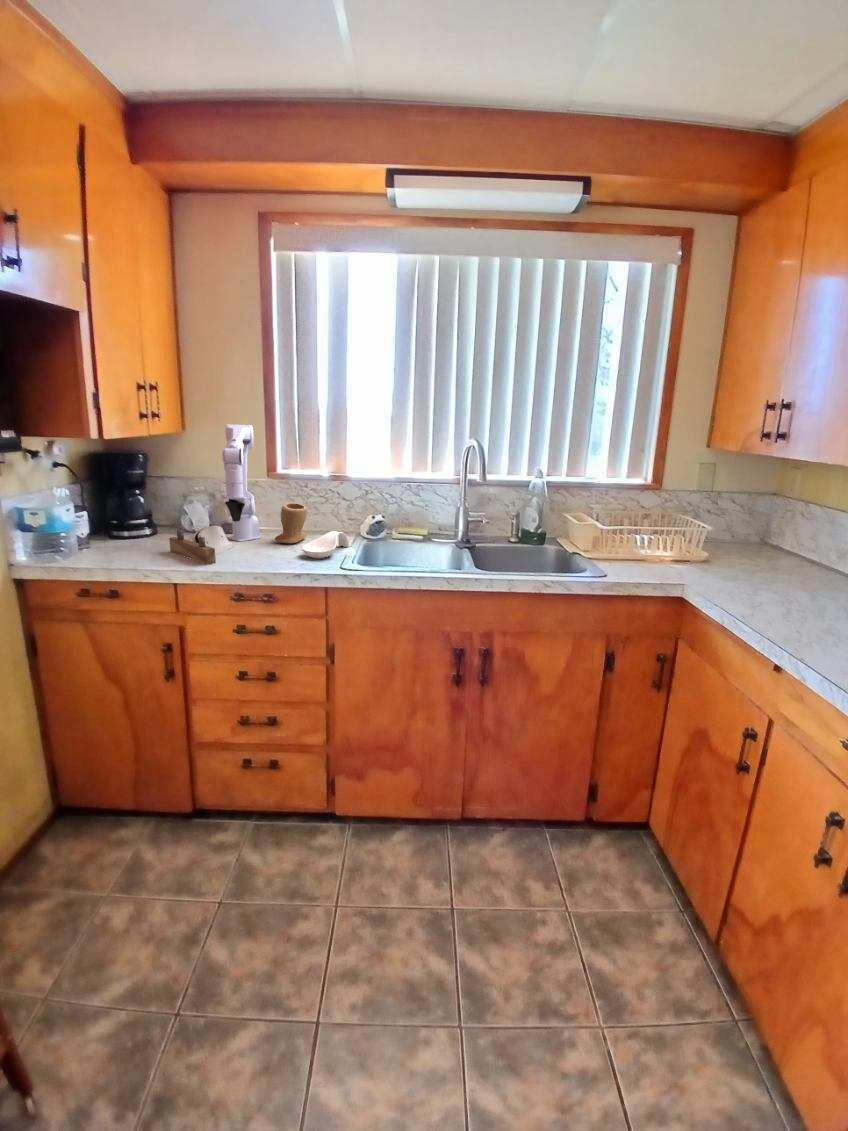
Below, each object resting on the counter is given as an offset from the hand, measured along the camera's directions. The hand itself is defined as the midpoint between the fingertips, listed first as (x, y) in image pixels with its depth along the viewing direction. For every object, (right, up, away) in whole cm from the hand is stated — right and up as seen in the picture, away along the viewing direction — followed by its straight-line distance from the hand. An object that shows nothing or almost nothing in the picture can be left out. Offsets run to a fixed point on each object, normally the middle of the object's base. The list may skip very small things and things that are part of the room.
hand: (236, 521), depth 201 cm
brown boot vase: (+16, -7, +18) cm, 25 cm away
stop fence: (-11, -13, -11) cm, 20 cm away
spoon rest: (+32, -12, +2) cm, 34 cm away
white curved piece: (-8, -11, -1) cm, 14 cm away
